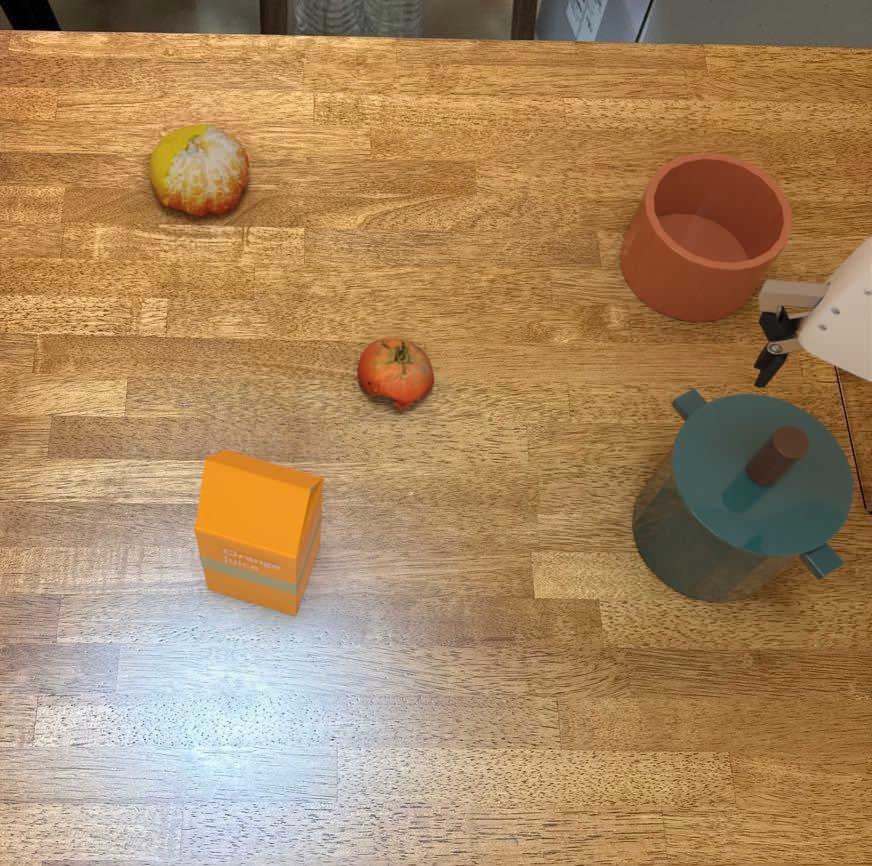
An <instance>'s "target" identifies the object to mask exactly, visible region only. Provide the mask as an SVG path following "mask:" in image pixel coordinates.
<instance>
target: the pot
mask: <svg viewBox="0 0 872 866" xmlns="http://www.w3.org/2000/svg"><path fill="white" fill-rule="evenodd" d="M707 403H708V402H707V401H706V400H705V398H704V397H703V396H702V395H701V394H700V392H698V390H697V389H696V388H695V387H694V388H691V389H690V390H688V391H686V392H684V393H682V394H680V395H679V396H677V397H675V398H674V399H673V401H672V402H671V404H670V405H671V407H672V408H673V409H674V410H675V411H676V412H677V414H678V415H679V416H680V418H681V419H682V420H683V421H684V423H685V422H686V420H687V419H688V418H689V417H690V416H691V415H692V414H693V413H694V412H695V411H696V410H697V409H699V408H700V407H702V406H703V405H705V404H707ZM671 453H672V449H671V450H670V451H669V452H668V454H667V455H666V456H665V458H664V459H663V461H662V462H661V464H660V465H659V466H658V468H657V469H656V470H655V472H654V473H653V475H652V476H651V478H650V479H649V480H648V481H647V484H646V485H645V486H644V488H643V489H642V491H641V492H640V494H639V495H638V497H637V498H636V500H635V505H634V509H633V514H632V533H633V537H634V538H633V539H634V542H635V544H636V548H637V550H638V552H639V554H640V556H641V558H642V560H643V561H644V563H645V564H646V566H647V567H648V568H649V570H650V571H651V572H652V573H653V574H654V575H655V576H656V577H657V578H658V579H659V580H660V581H661V582H662V583H663V584H665V585H666V586H668V587H669V588H671V589H672V590H674V591H676V592H677V593H679V594H681V595H684V596H687V597H689V598H692V599H696V600H698V601H703V602H709V603H727V602H733V601H738V600H741V599H745V598H748V597H750V596H751V595H753V594H754V593H756V592H758V591H759V590H761V589H762V588H764V587H765V586H768V584H770V583H771V582H772V581H774V579H776V578H777V577H779V575H781V574H782V573H783V572H784V571H785V570H787V569H788V568H790V567H791V566H792V565H793V564H794V563H795V562H796V561H798V560H799V559H800V561H801V562H802V563H803V564H804V565H805V567H806V568H807V569H808V570H809V571H810V573H811V574H812V575H813V576H814V577H815V579H816V580H818V581H821V580H823V579H824V578H826V577H827V576H829V575H830V574H832V573H833V572H835V571H836V570H838V569H840V568H842V566H844V565H845V562H844V560H843V559H842V558H841V557H840V556H839V554H837V553H836V551H835V550H834V549H833V548H832V546H831V545H830V544H829V543H828V541H827V542H826V543H825V544H823V545H822V546H820V547H818V548H817V549H815V550H813V551H811V552H808V553H805V554H802V555H798V556H794V557H786V558H766V557H760V556H754V555H750V554H747V553H743V552H741V551H738V550H736V549H733V548H731V547H729V546H727V545H725V544H723V543H722V542H720V541H718V540H717V539H715V538H714V537H712V536H711V535H710V534H708V533H707V532H706V531H705V530H704V529H703V528H701V527H700V526H699V525H698V524H697V522H696V521H695V520H694V519H693V518H692V517H691V516H690V514H689V513H688V512H687V510H686V509H685V507H684V506H683V504H682V502H681V500H680V498H679V496H678V494H677V491H676V489H675V486H674V482H673V478H672V472H671Z"/></svg>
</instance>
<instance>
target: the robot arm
mask: <svg viewBox="0 0 872 866" xmlns="http://www.w3.org/2000/svg"><path fill="white" fill-rule="evenodd" d="M757 302H758V303H757V304H758V312H759V318H758V324H759V326H760V328H761V330H762V332H763V334H764V336H765V338H766V339H767V343H766V345H765V346H764V347H763V349H762V350H761V351H760V353H759V354H758V356H757V358H756V360H755V362H754V364H753V368H755V369H756V370H759V373H758V375H757V377H756V379H755V382H754V384H753V387H755V388H757V389H765V388H766V386H767V385H768V384H769V383H770V381H771V380H772V379H773V378H774V376H775V375H776V374H777V373H778V372H779V371H780V369H781V368H782V367H783V366H784V364H785V363H786V361H787V359H788V356H789V354H791V353H798V352H803V351H806V352H807V353H809V354H810V355H812V356H814V357H816V358H818V359H820V360H821V361H824V362H826V363H828V364H830V365H833V366H834V367H837V368H839V369H840V370H843V371H845V372H848V373H850V374H852V375H854V376H856V377H859V378H861V379H863V380H866V381H868V382H870V383H872V235H871V236H869V237H868V238H867V239H865V240H864V241H863V242H862V243H861V244H860V245H859V246H858V247H857V248H856V249H855V250H854V251H852V253H851V254H850V255H848V257H847V258H846V259H845V260H844V261H843V262H842V263H841V264H840V265H839V266H838V267H837V268H836V269H835V270H834V271H833V273H832V274H831V275H830V276H828V278H827V279H826V280H825V281H824V283H819V282H805V281H790V280H780V279H779V280H777V279H766V280H764V282H763V284H762V286H761V288H760V290H759V292H758V294H757ZM785 307H787V308H788V307H789V308H800V309H811V310H807V311H802V312H797V313H792V314H788V312H787V310H786V308H785ZM797 332H798V333H797Z"/></svg>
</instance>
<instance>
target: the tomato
mask: <svg viewBox="0 0 872 866" xmlns="http://www.w3.org/2000/svg"><path fill="white" fill-rule="evenodd" d="M357 379H358V382H359V385H360V388H361V390H362V391H364V390H365V391H366V392H367V393H369V395H374V396H378V397H379V398H381V396H384V397H388V398H392V399H394V400H395V401H393V405H394V406H395V407H396V408H397V409H398V410H399V411H400V410H402V409H405V408H406V407H409V406H410V405H412V404H416V403H417V402H418V401H421V400H422V398H423V399H424V398H425V397H427V395H428V394H429V393H430V392H431V391H432V390H433V387H434V384H435V375H434V370H433V366H432V362H431V359H430V358H429V356H428V354H427V353H426V352H425V351H424V350H423V349H422V348H421V347H420V346H419V345H417V344H415V343H413V342H412V341H410V340H406V339H401V338H387V337H385V338H380V339H376V340H373V341H372V342H371V343H369V344H368V345H367V346H366V347H365V348H364V350H363V352H362V354H361V355H360V359H359V361H358V365H357ZM386 403H387V404H389V403H390V402H389V400H386Z"/></svg>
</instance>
